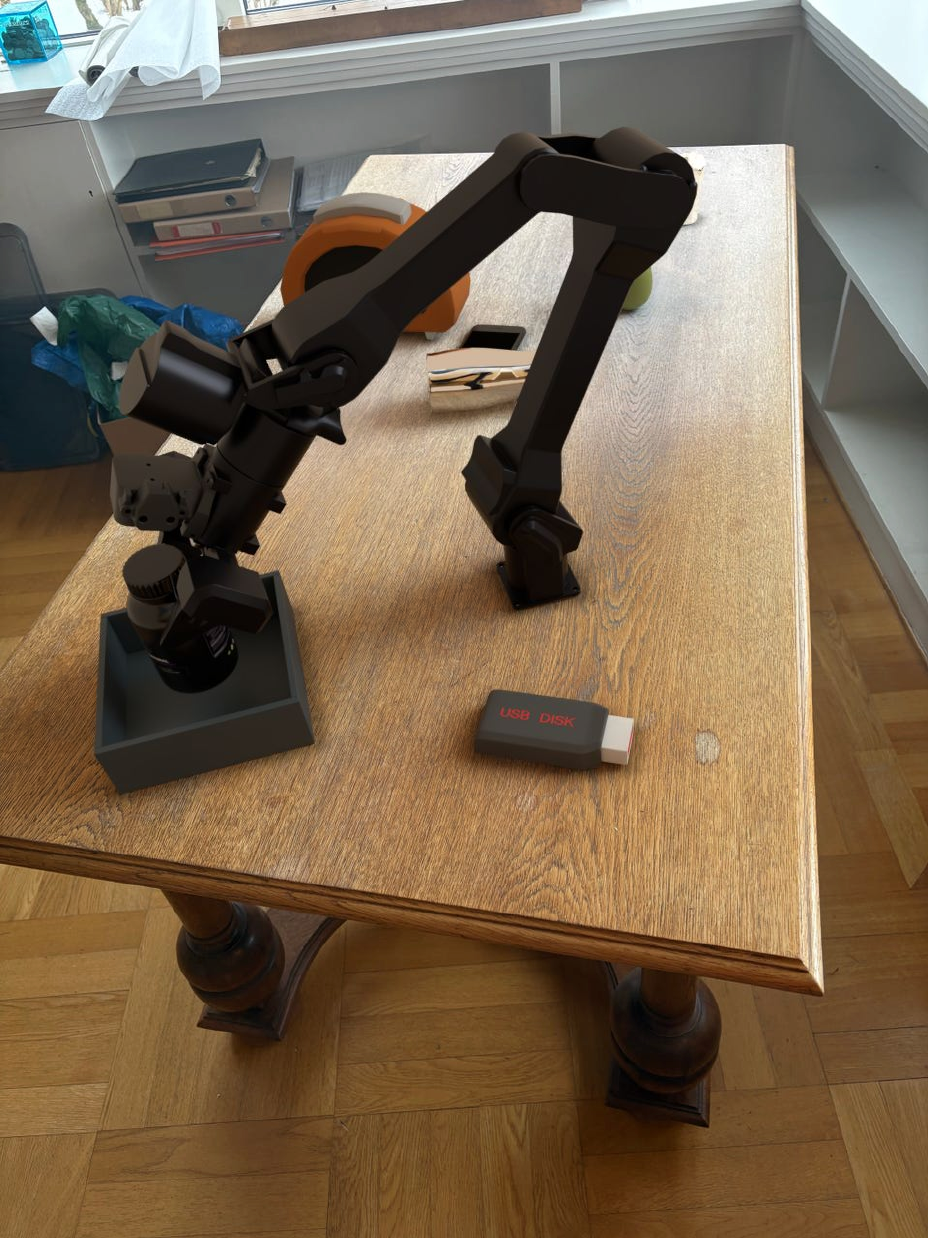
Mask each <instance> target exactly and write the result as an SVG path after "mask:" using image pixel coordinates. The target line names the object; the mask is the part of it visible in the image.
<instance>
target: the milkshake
mask: <svg viewBox="0 0 928 1238" xmlns="http://www.w3.org/2000/svg"><path fill="white" fill-rule="evenodd" d="M679 155H680V156H682V157H684V158H685V159H686V160H687V161H688V162H689V164H690V165H691V167H692V169H693V173H694V177H695V182H697V184H698V188H697V196H696V199H695V202H694V205H693V208H692V210H691V212H690V214H689V216H688V218H687V219H686V221H685V223H684V224H683V226H688V225H692V224H695V223H696V222H697V221H698V215H699V206H700V201H701V193H702V186H703V181H704V174H705V169H706V159H705V157H704V156H703V155H702V154H700V153H699V152H693V151H692V152H686V153H680V154H679Z"/></svg>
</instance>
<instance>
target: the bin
mask: <svg viewBox="0 0 928 1238" xmlns="http://www.w3.org/2000/svg"><path fill="white" fill-rule="evenodd" d="M259 575H260V578H261V580H262V583H263V586H264V588H265V591H266V594H267V597H268V600H269V603H270V605H271V608H272V611H273V614H272V615H271V617H270V618H269V620H268V621H267V623H266V624H265V626H264V627H263V629H262V630H261V631H260V632H259V633H257V634H253V633H249V632H245V631H241V630H238V629H234V628H230V627H229V628H230V630H231V632H232V635H233V637H234V639H235V642H236V644H237V647H238V652H239V657H238V662H237V665H236V667H235V669H234V671H233V672H232V674H231V675H230V676H229V677H228V678H227V679H226V680H225V681H224V682H223V683H221V684H220V685H218V686H216V687H215V688H213V689H210V690H208V691H205V692H201V693H195V694H185V693H180V692H176V691H174V690H172V689H170V688H169V687H168V686H166V685H165V684H164V682H163V681H162V679H161V677H160V676H159V674H158V672H157V670H156V668H155V667H154V665H153V663H152V661H151V659H150V657H149V655H148V653H147V652H146V650H145V648H144V646H143V644H142V642H141V640H140V638H139V637H138V635H137V633H136V631H135V629H134V627H133V625H132V623H131V621H130V619H129V617H128V615H127V611H126V607H123V608H119V609H115V610H111V611H108V612H103V613H100V618H99V619H100V621H99V639H98V640H99V641H98V644H99V645H98V660H97V661H98V662H97V664H98V665H97V682H96V699H95V700H96V702H95V703H96V704H95V706H96V707H95V723H94V724H95V726H94V742H93V743H94V744H93V756H94V757H95V759H96V761H97V762H98V763H99V765H100V767H101V768H102V770H103V771H104V772H105V774H106V775H107V777H108V778H109V780H110V782H111V783H112V784H113V787H114V788H115V789H116V790H117V793H118V794H119V795H123V794H124V795H125V794H128V793H131V792H135V791H139V790H142V789H147V788H150V787H154V786H157V785H161V784H165V783H170V782H173V781H177V780H180V779H184V778H188V777H193V776H195V775H199V774H203V773H207V772H211V771H215V770H219V769H222V768H226V767H230V766H234V765H238V764H241V763H245V762H249V761H252V760H257V759H260V758H264V757H268V756H272V755H275V754H279V753H283V752H287V751H290V750H295V749H298V748H301V747H305V746H309V745H314V744H316V742H315V741H316V740H315V734H314V728H313V722H312V718H311V717H312V716H311V711H310V705H309V697H308V692H307V691H308V690H307V687H306V679H305V674H304V668H303V661H302V655H301V649H300V642H299V637H298V631H297V625H296V620H295V618H296V617H295V613H294V609H293V607H292V604H291V601H290V597H289V595H288V592H287V589H286V586H285V583H284V580H283V578H282V575H281V572H280V570H279V569H277V570H274V571H269V572H266V573H261V574H259Z"/></svg>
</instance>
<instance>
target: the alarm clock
mask: <svg viewBox="0 0 928 1238" xmlns="http://www.w3.org/2000/svg"><path fill="white" fill-rule="evenodd" d="M427 211H428V210H427ZM427 211H426V210H425V209H424V208H421V207H419V206H418V205H416V204H413V203H411V202H409V201H407V200H405V199H403V198H400V197H396V196H392V195H387V194H384V193H383V194H382V193H378V192H364V191H363V192H353V193H347V194H344V195H339V196H335V197H333V198H331V199H329V200H326V201H324V202H323V203H321V204H320V206H319V207H318V208H317V209H316V211H315V212H314V213H313V215H312V218H313V221H312V223H311V224H310V225H308V227H307V228H306V230H305V231H304V233H303V234H302V235H301V236H300V237H299V239H298V240H297V241H296V243H295V244H294V245H293V246H292V248H291V250H290V252H289V254H288V257H287V259H286V262H285V264H284V267H283V272H282V277H281V283H280V288H279V291H280V295H281V299H282V304H283V307H284V306H285V305H286V304H288V303H289V302H291V301H292V300H294V299H296V298H297V297H299V296H301V295H302V294H304V293H305V292H307V291H309V290H310V289H312V288H313V287H315V286H317V285H318V284H320V283H322V282H323V281H326V280H329V279H332V278H336V277H339V276H342V275H346V274H349V273H352V272H354V271H356V270H358V269H359V268H361V267H362V266H364V265H366V264H367V263H369V262H370V261H371V260H372V259H373V258H375V257H376V256H377V255H378V254H379V253H380V252H381V251H383V250H384V249H385V248H386V247H387V246H388V245H389V244H391V243H392V242H393V241H394V240H395V239H396V238H398V237H399V236H400V235H401V234H402V233H403V232H404V231H406V230H407V229H408V228H409V227H410V226H411V225H412V224H414V223H415V222H416V221H417V220H418V219H419V218H420V217H422V216H423V215H424V214H425V213H426V212H427ZM471 282H472V280H471V273H470V272H469V273H468V274H466V275H465V276H464V277H463V278H462V279H461V280H459V281H458V282H457V283H456V284H455V285H454V286H452V287H451V288H450V289H449V290H448V291H446V292H445V293H444V294H443V295H442V296H441V297H439V298H438V299H437V300H436V301H435V302H434V303H432V304H431V305H430V306H429V307H428V308H427V309H425V310H424V311H423V312H422V313H421V314H419V315H418V316H417V317H416V318H415V319H414V320H413V321H412V322H411V323H410V324H409V325H408V326H407V328H406V329H405V330H404V331H403V332H402V333H405V332H410V333H424V335H425V337H426V339H427V340H431V341H432V340H434V338H435V337H436V335H437V333H447V332H448V331H449V330H450V329H451V328H452V327H454V326H455V325H456V323H457V322H458V319H459V318H460V315H461V313H462V311H463V309H464V307H465V305H466V303H467V301H468V299H469V297H470V291H471Z"/></svg>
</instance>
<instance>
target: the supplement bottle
mask: <svg viewBox="0 0 928 1238" xmlns="http://www.w3.org/2000/svg"><path fill="white" fill-rule="evenodd" d="M186 561H187V560H186V558H185V556H184V554H183V552H182V551H181V550H180V549H179V548H178V547H176V546H175V545H171V544H166V543H163V544H160V543H159V544H157V543H155V544H154V543H153V544H151V545H147V546H145V547H142V548H140V549H139V550H136V551H135V552H134V553H132V554H131V555H130V556H129V557H127V559H126V561H125V562H124V564H123V565H122V570H121V572H122V578H123V581H124V582H125V583H124V584H126V587H127V591H128V592H129V593H128V595H127V598H126V602H125V603H126V604H125V608H126V611H127V615H128V617H129V619H130V621H131V623H132V625H133V627H134V629H135V631H136V633H137V635H138V637H139V638H140V640H141V642H142V644H143V646H144V648H145V650H146V652H147V653H148V655H149V657H150V659H151V661H152V663H153V665H154V667H155V668H156V670H157V672H158V674H159V676H160V677H161V679H162V681H163V682H164V684H165V685H166V686H168V687H169V688H170V689H172V690H174V691H176V692H180V693H185V694H195V693H201V692H205V691H208V690H210V689H213V688H215V687H216V686H218V685H220V684H221V683H223V682H224V681H225V680H226V679H227V678H228V677H229V676H230V675H231V674H232V672H233V671H234V669H235V667H236V665H237V662H238V657H239V652H238V647H237V644H236V642H235V639H234V637H233V635H232V632H231V630H230V628H229V627H227V626H223V625H220V626H217V627H215V628H213V629H211V630H209V631H207V632H205V633H203V634H201V635H199V636H198V637H196V638H194V639H192V640H190V641H188V642H186V643H184V644H182V645H181V646H179V647H177V648H175V649H172V650H170V649H166V648H162V647H161V646H160V640H161V637H162V635H163V632H164V629H165V627H166V624H167V622H168V619H169V617H170V615H171V612H172V610H173V608H174V605H175V603H176V601H177V599H176V597H175V593H174V589H173V585H172V581H171V577H170V574H174V575H177V576H179V573H180V571H181V569H182V567H183V566H184V564H185V562H186Z"/></svg>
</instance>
